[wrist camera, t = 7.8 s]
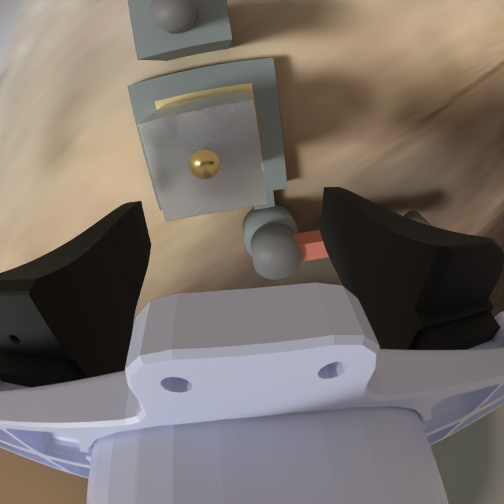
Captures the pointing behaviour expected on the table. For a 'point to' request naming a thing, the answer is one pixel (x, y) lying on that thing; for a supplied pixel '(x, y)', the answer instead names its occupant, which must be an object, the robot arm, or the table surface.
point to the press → (210, 85)
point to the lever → (291, 248)
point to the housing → (204, 155)
